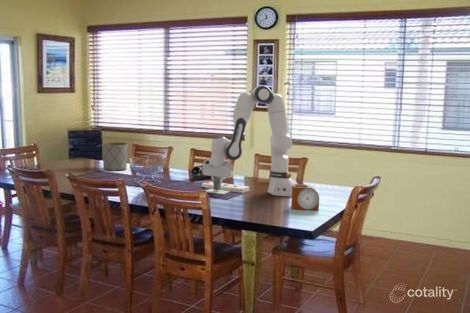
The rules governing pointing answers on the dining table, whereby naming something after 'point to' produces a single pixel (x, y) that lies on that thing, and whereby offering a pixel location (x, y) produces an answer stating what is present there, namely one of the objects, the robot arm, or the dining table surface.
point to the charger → (217, 183)
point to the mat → (217, 191)
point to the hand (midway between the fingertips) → (217, 183)
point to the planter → (115, 155)
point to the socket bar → (227, 187)
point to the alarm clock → (304, 197)
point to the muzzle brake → (199, 173)
